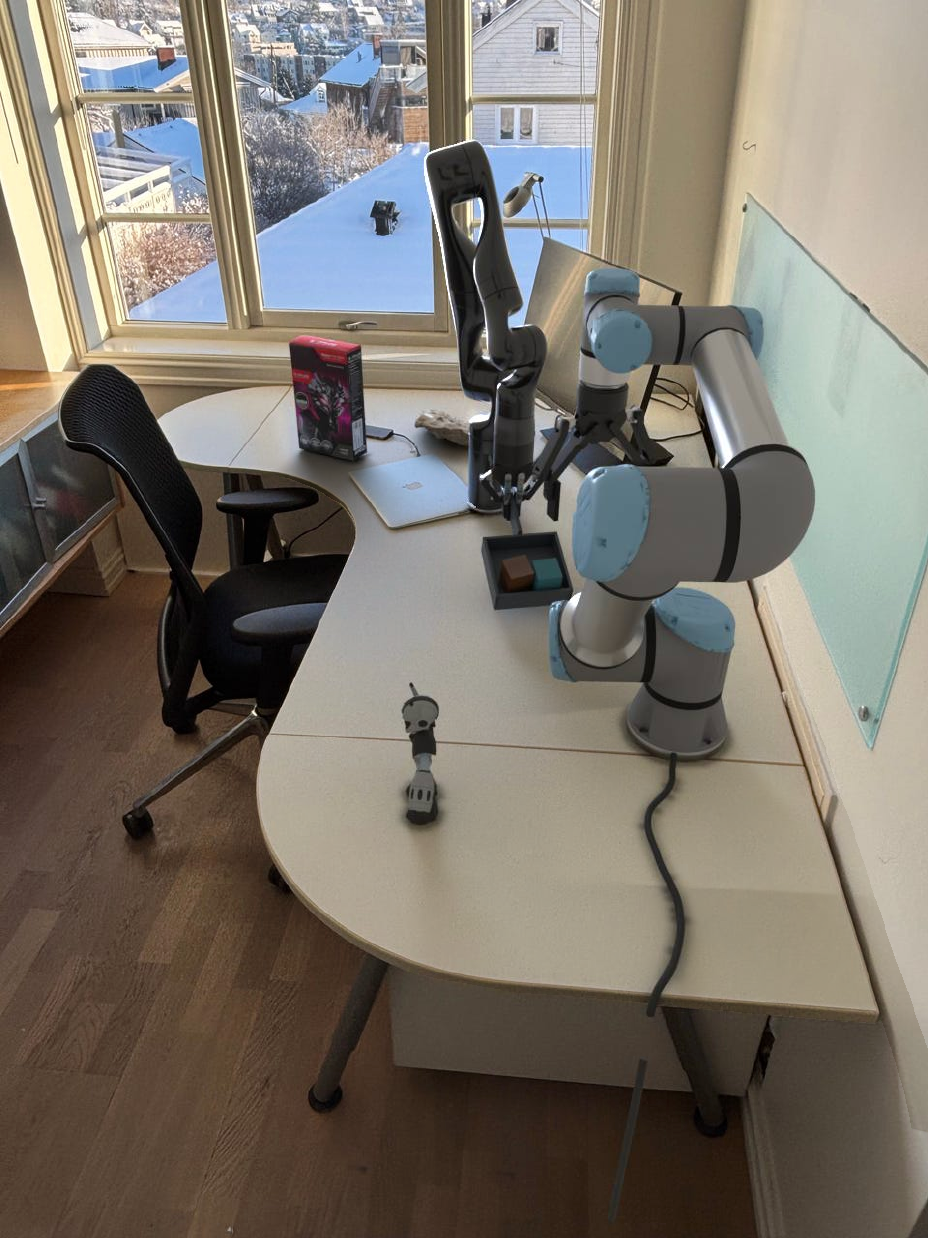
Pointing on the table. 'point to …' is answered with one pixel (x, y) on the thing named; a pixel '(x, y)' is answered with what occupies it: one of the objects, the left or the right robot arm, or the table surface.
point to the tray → (533, 549)
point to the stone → (444, 426)
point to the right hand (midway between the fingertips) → (591, 511)
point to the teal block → (546, 575)
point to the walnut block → (516, 575)
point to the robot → (421, 756)
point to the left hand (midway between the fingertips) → (510, 519)
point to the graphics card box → (329, 396)
